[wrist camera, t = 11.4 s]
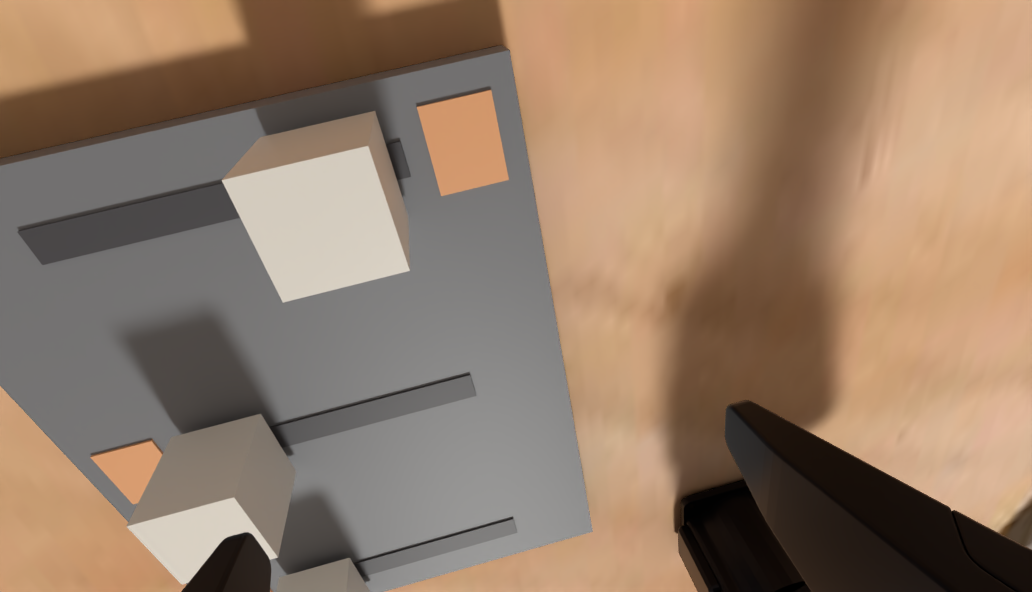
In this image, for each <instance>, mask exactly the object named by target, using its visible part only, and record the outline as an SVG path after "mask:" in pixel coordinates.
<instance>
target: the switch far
mask: <svg viewBox="0 0 1032 592" xmlns="http://www.w3.org/2000/svg"><path fill="white" fill-rule="evenodd" d="M276 592H370V590H369V589H368V587H367V585H366V584H365V582H364V580H363V579H362V577H361V576H360V574H359V572H358V571H357V569H356V567H355V566H354V564H353V562H352V561H351V559H350V558H346V559H343V560H339V561H336V562H332V563H329V564H325V565H322V566H318V567H314V568H311V569H307V570H304V571H300V572H297V573H293V574H290V575H286V576H283V577H279V580H278V585H277V590H276Z"/></svg>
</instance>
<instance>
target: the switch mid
mask: <svg viewBox="0 0 1032 592" xmlns="http://www.w3.org/2000/svg"><path fill="white" fill-rule="evenodd" d="M295 476H296V470H295V469H294V467H293V465H292V464H291V462H290V461H289V459H288V457H287V456H286V454H285V452H284V451H283V449H282V447H281V446H280V444H279V443H278V441H277V439H276V438H275V436H274V434H273V433H272V431H271V429H270V428H269V426H268V425H267V423H266V421H265V420H264V418H263V416H262V415H261V414H257V415H254V416H250V417H246V418H242V419H238V420H235V421H231V422H227V423H223V424H219V425H216V426H212V427H208V428H204V429H200V430H197V431H193V432H189V433H185V434H181V435H178V436H174V437H171V439H170V441H169V443H168V445H167V447H166V449H165V451H164V453H163V455H162V457H161V459H160V461H159V463H158V465H157V467H156V469H155V471H154V473H153V475H152V477H151V479H150V481H149V483H148V485H147V487H146V489H145V491H144V493H143V494H142V496H141V498H140V500H139V502H138V504H137V506H136V508H135V510H134V512H133V514H132V516H131V518H130V520H129V522H128V524H127V528H128V529H129V530H130V531H131V532H132V533H133V534H134V535H135V536H136V537H137V538H138V539H139V540H140V541H141V542H142V543H143V544H144V545H145V546H146V548H147V549H148V550H149V551H150V552H151V553H152V554H153V555H154V556H155V557H156V558H157V559H158V560H159V561H160V562H161V563H162V564H163V565H164V566H165V568H166V569H167V570H168V571H169V572H170V573H171V574H172V575H173V576H174V577H175V578H176V579H177V580H178V581H179V582H180V583H181V584H185V583H189V581H190V580H191V579H192V578H193V576H194V575H195V574H196V573H197V571H198V570H199V569H200V568H201V566H202V565H203V564H204V563H205V561H206V560H207V559H208V558H209V556H210V555H211V554H212V553H213V552H214V550H215V549H216V548H217V547H218V545H219V544H220V543H221V542H222V541H223V540H224V539H225V538H227V537H229V536H233V535H237V534H240V533H244V532H249V533H251V534H252V535H253V536H254V537H255V538H256V540H257V541H258V543H259V544H260V545H261V547H262V548H263V550H264V551H265V553H266V554H267V555H268V557H269V559H270V560H271V559H274V558H278V556H279V551H280V546H281V541H282V537H283V532H284V527H285V523H286V518H287V513H288V509H289V504H290V499H291V494H292V490H293V485H294V480H295Z"/></svg>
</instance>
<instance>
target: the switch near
mask: <svg viewBox="0 0 1032 592" xmlns="http://www.w3.org/2000/svg"><path fill="white" fill-rule="evenodd" d="M222 182H223V184H224V186H225V188H226V190H227V192H228V194H229V196H230V198H231V200H232V202H233V204H234V206H235V208H236V210H237V212H238V214H239V216H240V218H241V220H242V222H243V224H244V226H245V228H246V230H247V232H248V234H249V236H250V238H251V240H252V242H253V244H254V246H255V248H256V250H257V252H258V254H259V256H260V258H261V260H262V262H263V264H264V266H265V268H266V270H267V272H268V274H269V276H270V278H271V280H272V282H273V284H274V286H275V288H276V290H277V292H278V294H279V296H280V298H281V300H282V302H283V303H284V302H288V301H292V300H296V299H300V298H304V297H308V296H312V295H315V294H319V293H323V292H327V291H331V290H335V289H339V288H343V287H347V286H351V285H355V284H359V283H363V282H367V281H371V280H375V279H379V278H383V277H387V276H391V275H395V274H399V273H403V272H407V271H410V258H409V225H408V214H407V210H406V207H405V204H404V201H403V198H402V195H401V191H400V188H399V185H398V182H397V179H396V176H395V172H394V169H393V166H392V163H391V160H390V157H389V153H388V150H387V147H386V144H385V141H384V138H383V134H382V131H381V128H380V125H379V122H378V119H377V115H376V112H375V111H372V112H368V113H363V114H359V115H355V116H350V117H346V118H342V119H337V120H333V121H329V122H324V123H320V124H316V125H311V126H307V127H303V128H298V129H294V130H290V131H285V132H281V133H277V134H272V135H268V136H264V137H260V138H259V139H258V140H257V141H256V142H255V143H254V144H253V146H252V147H251V148H250V149H249V150H248V151H247V152H246V153H245V154H244V156H243V157H242V158H241V159H240V160H239V161H238V162H237V163H236V165H235V166H234V167H233V168H232V169H231V170H230V171H229V172H228V174H227V175H226V176H225V177H224V178H223V179H222Z"/></svg>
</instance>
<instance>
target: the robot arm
mask: <svg viewBox="0 0 1032 592" xmlns="http://www.w3.org/2000/svg"><path fill="white" fill-rule="evenodd" d="M725 440H726V443H727V446H728V448H729V450H730V452H731V454H732V456H733V458H734V460H735V462H736V464H737V466H738V468H739V470H740V472H741V474H742V476H743V478H744V479H745V480H743V481H739V482H736V483H732V484H729V485H725V486H722V487H719V488H715V489H712V490H708V491H705V492H701V493H698V494H694V495H691V496H687V497H685V498H684V499H683V500H682V501H681V526H680V527H679V529H678V547H679V554H680V556H681V558H682V560H683V562H684V564H685V567H686V569H687V571H688V573H689V575H690V577H691V579H692V581H693V583H694V585H695V587H696V589H697V591H698V592H1032V550H1031V549H1029V548H1027V547H1025V546H1023V545H1021V544H1019V543H1017V542H1015V541H1013V540H1011V539H1009V538H1007V537H1005V536H1003V535H1002V534H1000V533H998V532H996V531H994V530H992V529H990V528H988V527H986V526H984V525H982V524H980V523H978V522H976V521H975V520H973V519H971V518H969V517H967V516H965V515H963V514H961V513H960V512H958V511H955V510H953V511H951V509H950V508H949V507H948V506H946V505H944V504H942V503H941V502H939V501H937V500H935V499H933V498H931V497H929V496H928V495H926V494H924V493H922V492H920V491H918V490H916V489H914V488H913V487H911V486H909V485H907V484H905V483H903V482H901V481H900V480H898V479H896V478H894V477H892V476H890V475H888V474H886V473H885V472H883V471H881V470H879V469H877V468H875V467H873V466H872V465H870V464H868V463H866V462H864V461H862V460H860V459H859V458H857V457H855V456H853V455H851V454H849V453H847V452H845V451H844V450H842V449H840V448H838V447H836V446H834V445H832V444H831V443H829V442H827V441H825V440H823V439H821V438H819V437H817V436H816V435H814V434H812V433H810V432H808V431H806V430H804V429H803V428H801V427H799V426H797V425H795V424H793V423H791V422H789V421H788V420H786V419H784V418H782V417H780V416H778V415H776V414H775V413H773V412H771V411H769V410H767V409H765V408H763V407H761V406H760V405H758V404H756V403H754V402H752V401H749V400H744V401H740V402H736V403H732V404H729V405H728V406H727V408H726V417H725ZM270 586H271V562H270V559H269V557H268V555H267V554H266V553H265V551H264V550H263V548H262V547H261V545H260V544H259V543H258V541H257V540H256V538H255V537H254V536H253V535H252V534H251V533H249V532H244V533H240V534H237V535H233V536H229V537H227V538H225V539H224V540H223V541H222V542H221V543H220V544H219V545H218V547H217V548H216V549H215V550H214V552H213V553H212V554H211V555H210V556H209V558H208V559H207V560H206V561H205V563H204V564H203V565H202V566H201V568H200V569H199V570H198V571H197V573H196V574H195V575H194V576H193V578H192V579H191V580H190V581H189V583H188V584H187V585H186V586H185V588H184V589H183V590H182V591H181V592H270Z"/></svg>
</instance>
